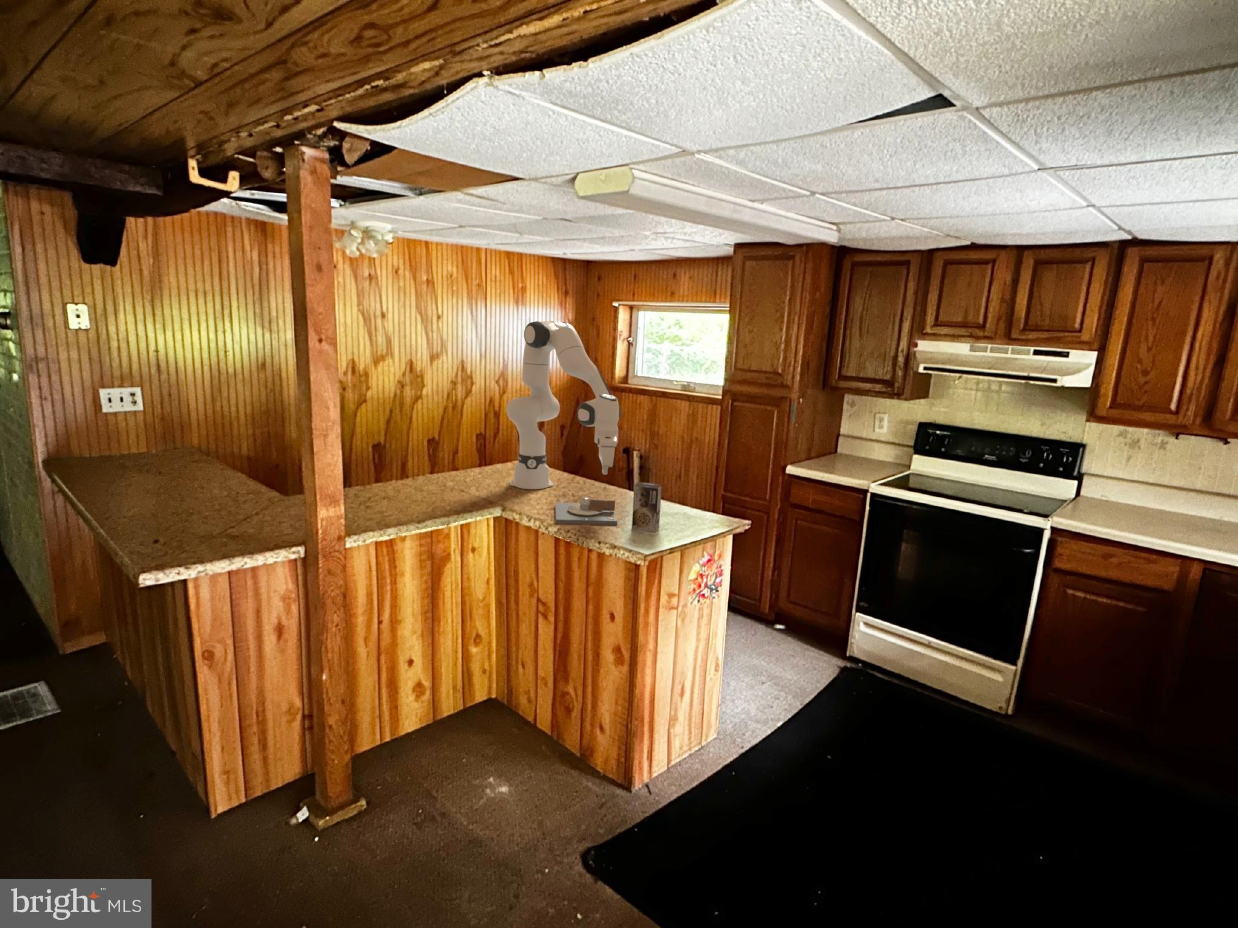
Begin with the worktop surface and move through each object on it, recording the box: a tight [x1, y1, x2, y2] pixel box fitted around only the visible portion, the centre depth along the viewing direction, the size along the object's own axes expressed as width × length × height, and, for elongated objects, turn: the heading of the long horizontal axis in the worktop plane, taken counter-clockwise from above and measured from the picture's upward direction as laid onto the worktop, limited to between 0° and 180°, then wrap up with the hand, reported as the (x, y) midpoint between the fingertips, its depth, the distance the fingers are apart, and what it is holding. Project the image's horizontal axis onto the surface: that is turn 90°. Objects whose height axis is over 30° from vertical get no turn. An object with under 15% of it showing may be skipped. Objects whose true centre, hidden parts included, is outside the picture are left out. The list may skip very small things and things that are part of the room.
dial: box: [568, 496, 616, 516], centre depth 246 cm, size 18×13×5 cm
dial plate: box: [554, 502, 618, 526], centre depth 246 cm, size 22×22×2 cm
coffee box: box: [631, 481, 663, 533], centre depth 233 cm, size 9×6×16 cm
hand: (604, 473), depth 250 cm, fingers closed
